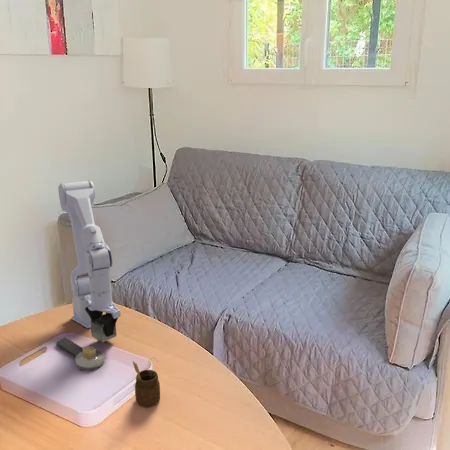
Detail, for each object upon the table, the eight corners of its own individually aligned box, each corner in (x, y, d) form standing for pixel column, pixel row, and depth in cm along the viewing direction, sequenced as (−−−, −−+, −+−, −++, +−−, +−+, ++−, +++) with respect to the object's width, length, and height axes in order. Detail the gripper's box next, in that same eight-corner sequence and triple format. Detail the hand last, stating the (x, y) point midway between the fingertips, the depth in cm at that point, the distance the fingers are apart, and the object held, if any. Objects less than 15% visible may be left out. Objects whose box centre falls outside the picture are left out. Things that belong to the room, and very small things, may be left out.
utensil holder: (165, 400, 123) (164, 357, 120) (143, 412, 119) (141, 367, 116) (151, 389, 128) (149, 347, 124) (129, 400, 123) (127, 357, 120)
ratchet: (49, 348, 145) (47, 335, 144) (72, 338, 150) (71, 325, 149) (86, 374, 134) (85, 359, 132) (110, 362, 139) (109, 348, 138)
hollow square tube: (91, 336, 148) (90, 321, 147) (106, 330, 152) (105, 315, 150) (102, 342, 145) (100, 327, 143) (116, 336, 149) (115, 320, 147)
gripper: (73, 286, 145) (77, 328, 150) (104, 301, 136) (107, 346, 140) (94, 278, 150) (98, 319, 155) (125, 293, 141) (127, 336, 145)
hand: (103, 331), depth 148 cm, fingers closed on hollow square tube, 5 cm apart
